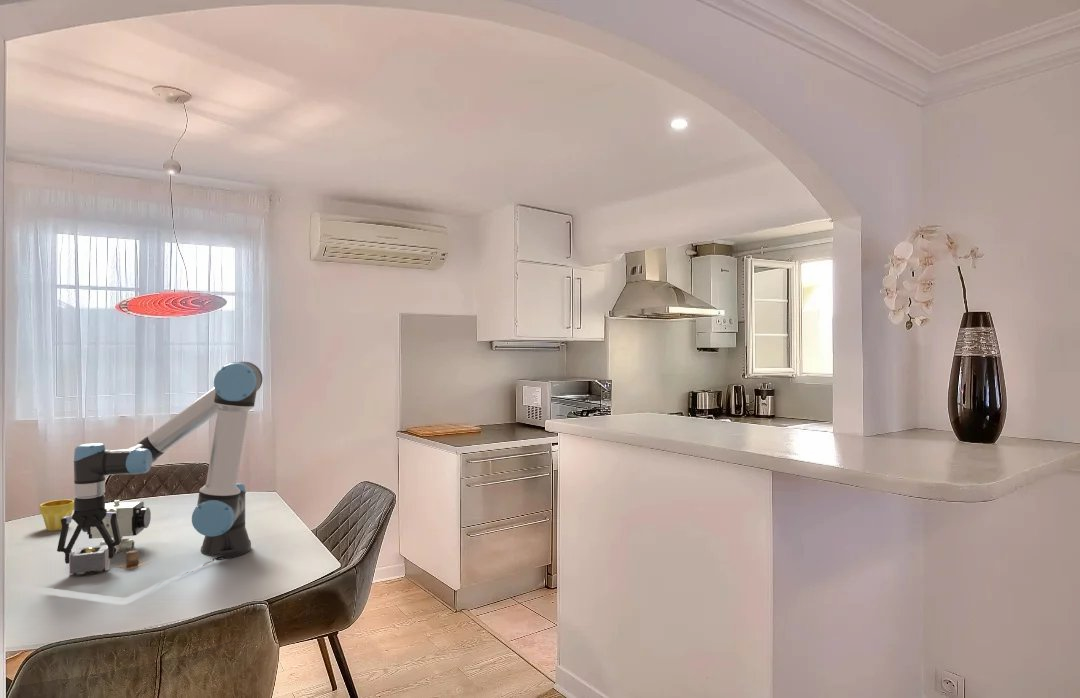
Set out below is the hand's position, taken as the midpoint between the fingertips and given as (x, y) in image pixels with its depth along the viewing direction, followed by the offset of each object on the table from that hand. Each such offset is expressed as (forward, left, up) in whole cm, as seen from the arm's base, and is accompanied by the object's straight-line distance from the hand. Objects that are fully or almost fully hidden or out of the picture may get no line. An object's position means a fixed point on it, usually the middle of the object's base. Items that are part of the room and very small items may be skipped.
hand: (90, 571), depth 184 cm
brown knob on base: (-7, -8, -2) cm, 11 cm away
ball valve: (+11, -18, -2) cm, 21 cm away
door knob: (0, 0, -2) cm, 2 cm away
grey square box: (0, 0, +1) cm, 1 cm away
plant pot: (+59, -35, -2) cm, 69 cm away
